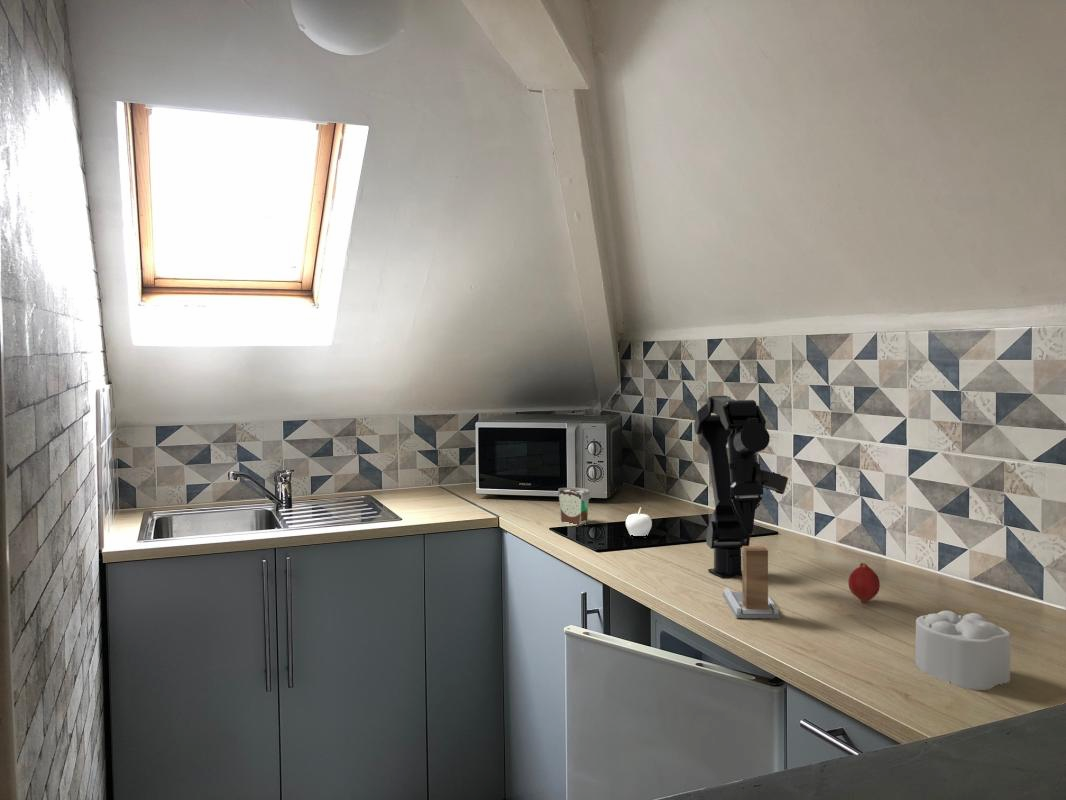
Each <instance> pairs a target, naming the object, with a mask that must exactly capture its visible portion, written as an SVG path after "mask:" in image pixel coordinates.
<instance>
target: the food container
mask: <svg viewBox="0 0 1066 800" xmlns="http://www.w3.org/2000/svg"><path fill="white" fill-rule="evenodd" d="M557 496H558V500H559V501H558V502H559V513H560V522H561V521H563V522H569V523H573V524H577V525H585V524H587V525H588V518H589V517H588V515H589V501H590V499H592V497H591V496H592V495H591V492H590V490H589V489H587V488H584V487H583V488H582V487H559V488H558V491H557ZM563 522H562V523H563Z"/></svg>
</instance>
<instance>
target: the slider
mask: <svg viewBox="0 0 1066 800" xmlns="http://www.w3.org/2000/svg"><path fill="white" fill-rule="evenodd" d="M723 590H724V591H722V597H723V599H724V601H725V602H726V604H727V603H728V604H727V605H728V607H729V609H730V608H731V609H730V610H731V612H732V611H733V612H732V614H733V613H734V614H733V616H734V615H735V616H736V617H735V616H734V617H735V618H780V619H781V614H780V613H779V607H778V606H777V605H776V604H775V602H774V601H773V600H772V599H771V597H770V596H769V595H768V604H769V606H770V607H771V608H772V610H773V614H743V613H742V611H741V607H740V606H739V604H738V602H742V591H731V590H730V588H729V587H724V588H723Z"/></svg>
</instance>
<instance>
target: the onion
mask: <svg viewBox="0 0 1066 800" xmlns="http://www.w3.org/2000/svg"><path fill="white" fill-rule="evenodd" d="M847 583H848V588H849V591H850V592H851V593H852V594H853V596H855V597H856V598H857V600H859V601H860V602H861V603H867V602H870V600H872V599H873V598H874V597H876V596H877V595H878V594H879V592H880V586H881V583H880V579H879V576H878V574H877V573H876V572H875V571H874V570H873V569H872V568H871V567H870V566H869V565H868V564H867V563H866V562H863V561H862V562H861V563H860V564H859V566H858V567H857V568H855V569H854V570H852V572H851V573H850V575H849V578H848V582H847Z"/></svg>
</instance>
